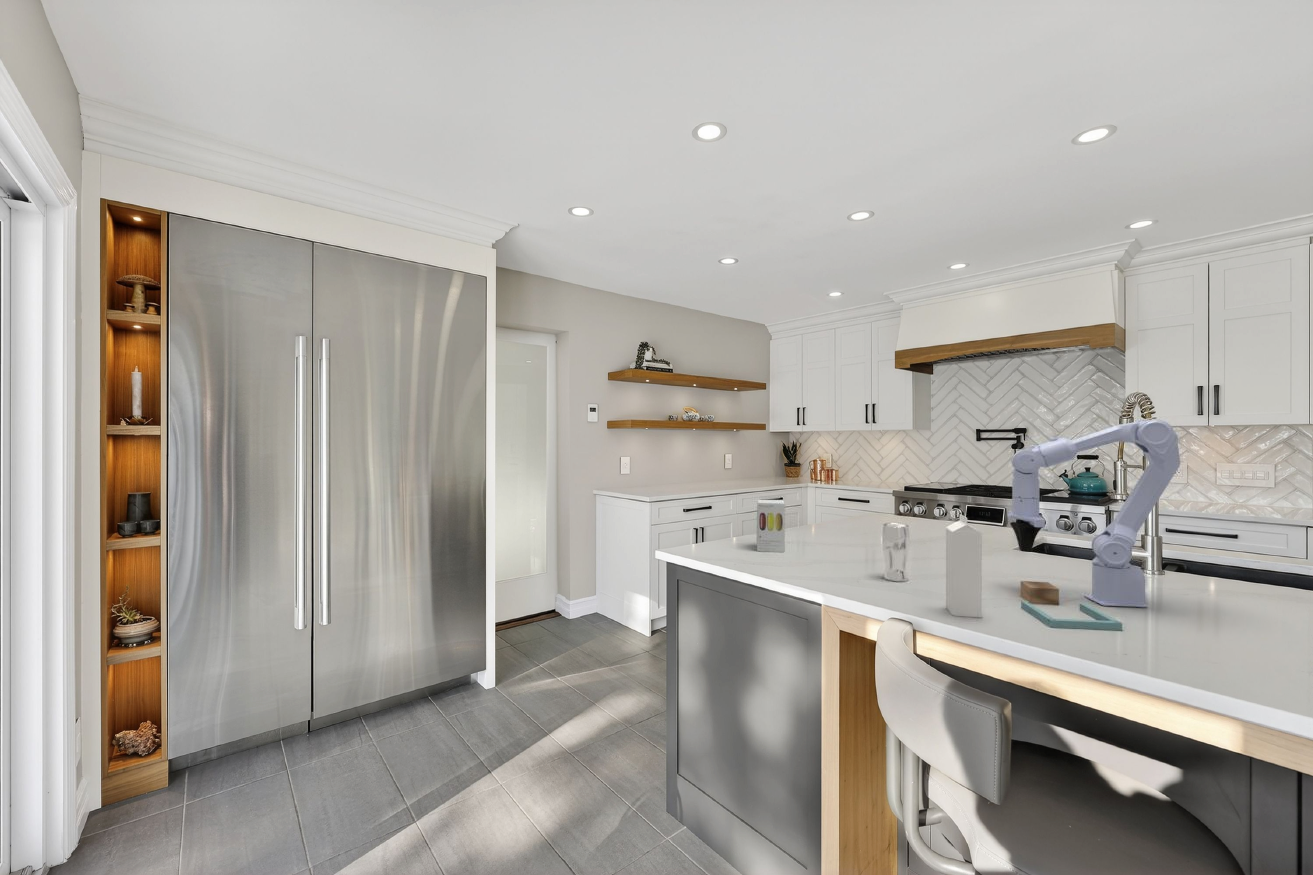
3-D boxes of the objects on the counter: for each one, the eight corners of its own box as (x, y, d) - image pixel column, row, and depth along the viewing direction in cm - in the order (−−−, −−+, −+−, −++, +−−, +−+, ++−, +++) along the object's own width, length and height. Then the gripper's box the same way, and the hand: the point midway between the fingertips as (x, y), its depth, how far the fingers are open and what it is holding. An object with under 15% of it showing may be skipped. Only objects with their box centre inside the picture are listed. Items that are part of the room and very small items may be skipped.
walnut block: (1048, 598, 140) (1048, 582, 140) (1058, 605, 134) (1058, 589, 134) (1020, 597, 142) (1020, 580, 142) (1029, 604, 136) (1029, 587, 136)
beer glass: (912, 582, 154) (912, 527, 154) (884, 581, 156) (884, 526, 156) (906, 576, 161) (906, 523, 161) (880, 575, 163) (880, 522, 162)
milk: (952, 616, 127) (951, 517, 127) (945, 607, 133) (944, 513, 133) (982, 617, 126) (982, 518, 126) (974, 609, 132) (973, 513, 131)
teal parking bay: (1085, 610, 130) (1085, 603, 130) (1122, 630, 117) (1122, 623, 117) (1021, 607, 133) (1021, 601, 133) (1050, 627, 120) (1050, 620, 120)
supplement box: (756, 551, 195) (756, 502, 195) (756, 546, 204) (756, 499, 204) (785, 552, 193) (785, 502, 193) (784, 546, 202) (783, 499, 202)
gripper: (996, 493, 152) (995, 544, 152) (1022, 500, 138) (1022, 557, 138) (1024, 494, 151) (1024, 545, 151) (1054, 501, 137) (1054, 557, 137)
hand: (1025, 551), depth 145 cm, fingers closed
